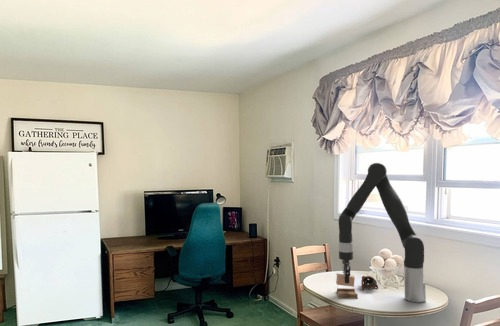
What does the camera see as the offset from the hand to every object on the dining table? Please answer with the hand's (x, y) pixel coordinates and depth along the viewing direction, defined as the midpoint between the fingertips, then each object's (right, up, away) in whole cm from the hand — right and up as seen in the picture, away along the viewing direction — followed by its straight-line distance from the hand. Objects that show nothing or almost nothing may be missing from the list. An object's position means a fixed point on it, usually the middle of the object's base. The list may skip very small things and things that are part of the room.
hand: (346, 281), depth 194 cm
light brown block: (-1, -2, 0) cm, 2 cm away
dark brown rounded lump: (+15, -8, +10) cm, 20 cm away
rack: (0, -7, 0) cm, 7 cm away
